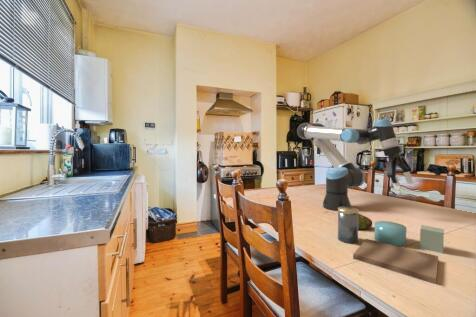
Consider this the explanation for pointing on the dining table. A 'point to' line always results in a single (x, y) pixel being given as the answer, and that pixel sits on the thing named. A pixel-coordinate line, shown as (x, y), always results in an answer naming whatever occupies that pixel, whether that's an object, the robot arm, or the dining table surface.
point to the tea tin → (348, 224)
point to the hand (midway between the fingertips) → (404, 186)
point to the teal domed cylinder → (390, 233)
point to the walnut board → (398, 259)
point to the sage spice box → (431, 238)
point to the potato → (364, 222)
